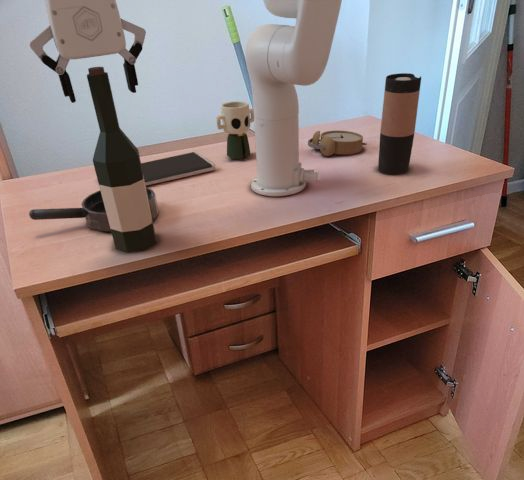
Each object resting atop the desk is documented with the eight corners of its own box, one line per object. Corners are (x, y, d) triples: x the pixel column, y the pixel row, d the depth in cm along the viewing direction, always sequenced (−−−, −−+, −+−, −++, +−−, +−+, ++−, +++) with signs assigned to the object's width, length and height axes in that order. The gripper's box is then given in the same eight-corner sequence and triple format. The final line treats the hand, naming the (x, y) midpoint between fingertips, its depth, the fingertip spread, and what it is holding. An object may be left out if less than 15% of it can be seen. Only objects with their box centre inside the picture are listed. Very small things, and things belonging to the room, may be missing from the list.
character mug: (227, 165, 129) (222, 111, 121) (214, 158, 134) (208, 105, 125) (263, 156, 133) (260, 103, 125) (249, 149, 138) (246, 98, 130)
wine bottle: (148, 253, 93) (108, 73, 74) (107, 251, 95) (58, 74, 76) (163, 233, 100) (130, 62, 81) (124, 231, 101) (83, 63, 82)
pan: (149, 198, 114) (146, 180, 112) (166, 223, 103) (162, 203, 101) (83, 212, 110) (77, 193, 107) (92, 239, 99) (86, 219, 97)
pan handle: (87, 214, 104) (82, 198, 102) (89, 218, 103) (84, 201, 101) (33, 225, 101) (27, 209, 99) (34, 229, 100) (27, 212, 98)
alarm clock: (372, 140, 129) (319, 138, 124) (367, 159, 132) (316, 158, 127) (352, 129, 137) (302, 126, 133) (348, 148, 140) (299, 146, 135)
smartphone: (216, 171, 126) (215, 164, 125) (111, 195, 117) (109, 188, 116) (196, 157, 135) (195, 150, 134) (97, 178, 126) (96, 172, 125)
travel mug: (373, 173, 119) (382, 80, 106) (380, 163, 124) (389, 72, 112) (406, 176, 116) (419, 81, 104) (411, 165, 122) (424, 73, 109)
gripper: (6, -31, 65) (50, 110, 76) (137, -43, 70) (160, 92, 81) (5, -32, 70) (46, 100, 81) (126, -43, 75) (149, 83, 86)
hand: (103, 96), depth 81 cm, fingers open, 9 cm apart
